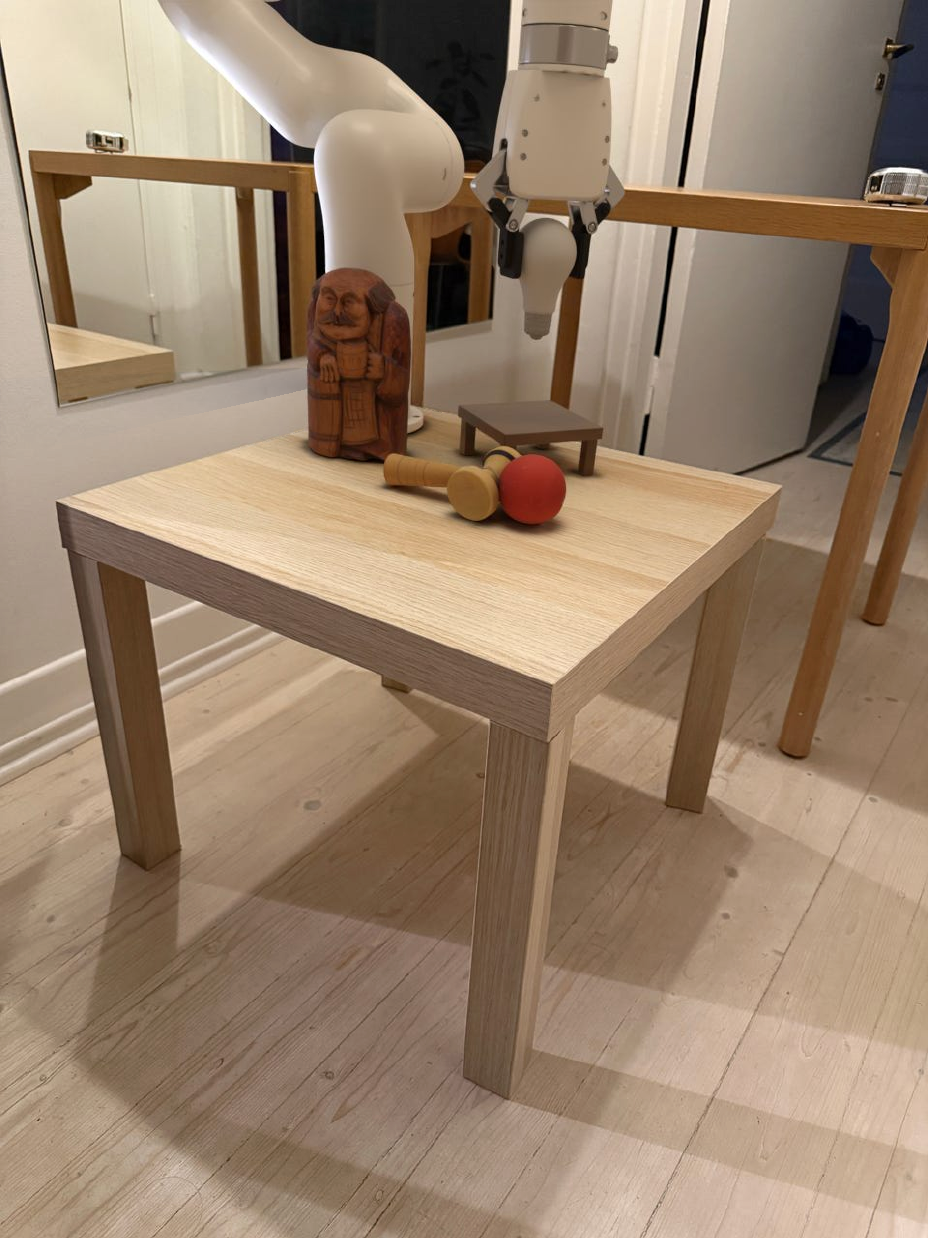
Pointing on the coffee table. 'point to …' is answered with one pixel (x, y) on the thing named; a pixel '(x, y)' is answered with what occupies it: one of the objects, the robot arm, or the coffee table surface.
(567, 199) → the robot arm
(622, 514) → the coffee table surface
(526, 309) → the lightbulb
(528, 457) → the kendama
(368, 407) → the wooden figurine
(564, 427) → the desk
